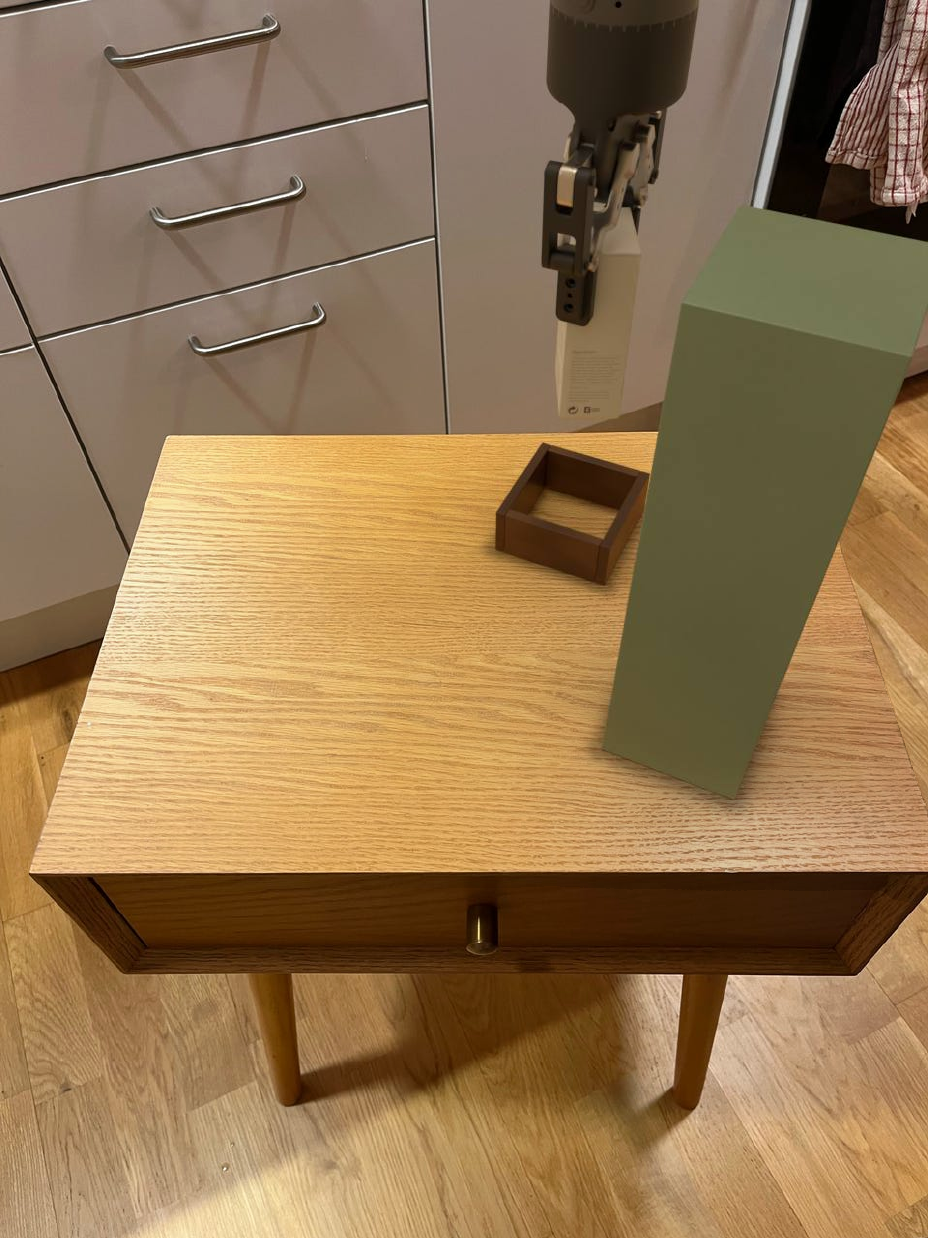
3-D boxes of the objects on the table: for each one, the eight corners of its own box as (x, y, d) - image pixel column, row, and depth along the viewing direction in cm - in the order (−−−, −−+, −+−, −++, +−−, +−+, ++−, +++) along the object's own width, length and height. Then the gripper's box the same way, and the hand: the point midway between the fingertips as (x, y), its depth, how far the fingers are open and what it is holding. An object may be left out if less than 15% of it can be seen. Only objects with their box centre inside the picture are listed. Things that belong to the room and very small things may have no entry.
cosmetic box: (621, 420, 65) (643, 254, 56) (557, 421, 65) (569, 255, 56) (613, 367, 69) (632, 204, 60) (553, 368, 69) (563, 205, 60)
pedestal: (769, 696, 66) (947, 244, 41) (734, 800, 61) (913, 356, 36) (645, 653, 69) (740, 203, 44) (601, 749, 64) (680, 301, 39)
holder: (643, 510, 78) (650, 473, 75) (604, 585, 73) (610, 549, 70) (539, 478, 81) (542, 441, 78) (494, 549, 76) (495, 512, 73)
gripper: (650, 52, 43) (613, 365, 56) (736, -41, 52) (687, 250, 64) (498, 28, 45) (495, 334, 58) (604, -57, 54) (581, 227, 66)
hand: (596, 289), depth 61 cm, fingers closed on cosmetic box, 7 cm apart
